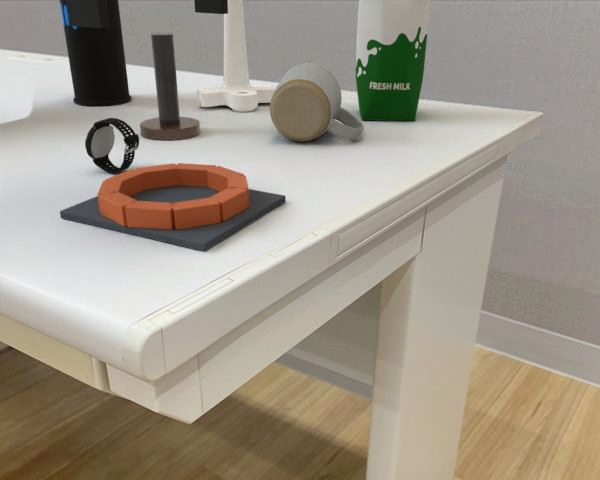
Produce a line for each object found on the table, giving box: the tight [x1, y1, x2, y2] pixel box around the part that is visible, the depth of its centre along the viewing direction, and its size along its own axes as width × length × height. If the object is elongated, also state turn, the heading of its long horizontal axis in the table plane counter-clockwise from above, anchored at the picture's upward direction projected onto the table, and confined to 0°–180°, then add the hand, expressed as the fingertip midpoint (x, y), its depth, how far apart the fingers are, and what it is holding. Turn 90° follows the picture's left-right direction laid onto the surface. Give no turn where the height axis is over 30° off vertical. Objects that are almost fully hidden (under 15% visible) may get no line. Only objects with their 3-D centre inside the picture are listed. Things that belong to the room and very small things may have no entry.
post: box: [139, 32, 201, 141], centre depth 73 cm, size 7×7×11 cm
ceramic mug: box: [269, 62, 365, 143], centre depth 73 cm, size 11×8×8 cm
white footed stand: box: [196, 0, 277, 113], centre depth 85 cm, size 11×8×20 cm
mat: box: [59, 186, 287, 252], centre depth 52 cm, size 14×12×1 cm
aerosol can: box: [59, 0, 132, 107], centre depth 88 cm, size 8×8×20 cm
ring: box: [97, 162, 250, 230], centre depth 52 cm, size 12×12×2 cm
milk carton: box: [355, 0, 431, 122], centre depth 81 cm, size 9×9×20 cm
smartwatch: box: [84, 117, 140, 175], centre depth 61 cm, size 4×5×5 cm
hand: (157, 19), depth 46 cm, fingers open, 13 cm apart
